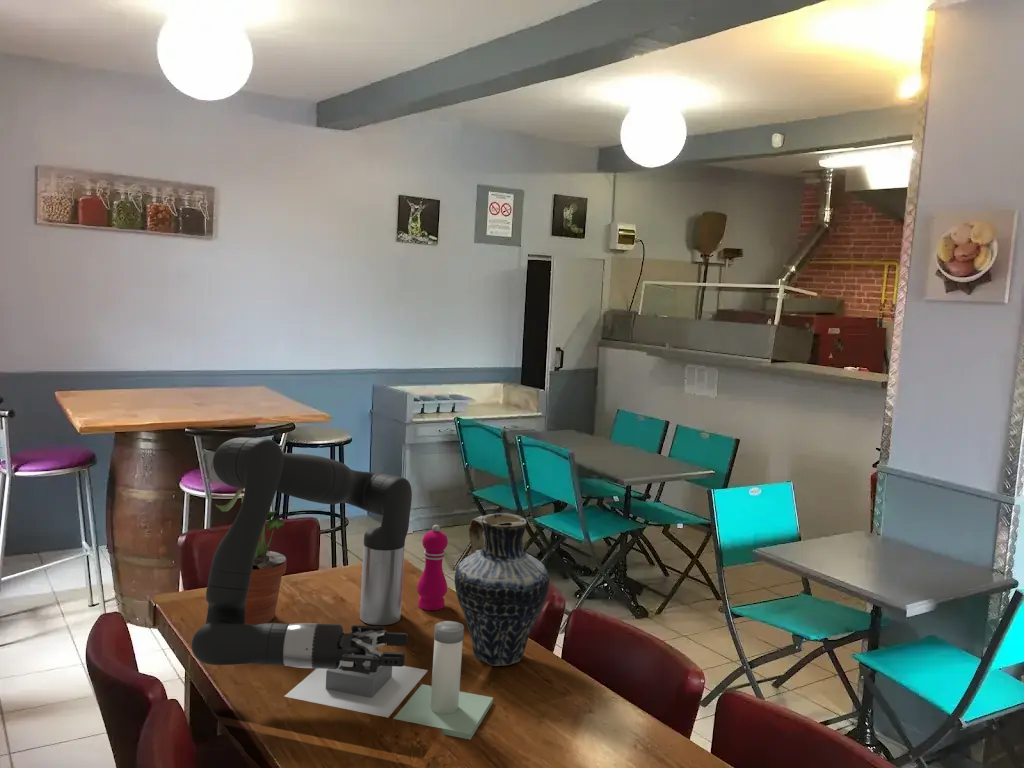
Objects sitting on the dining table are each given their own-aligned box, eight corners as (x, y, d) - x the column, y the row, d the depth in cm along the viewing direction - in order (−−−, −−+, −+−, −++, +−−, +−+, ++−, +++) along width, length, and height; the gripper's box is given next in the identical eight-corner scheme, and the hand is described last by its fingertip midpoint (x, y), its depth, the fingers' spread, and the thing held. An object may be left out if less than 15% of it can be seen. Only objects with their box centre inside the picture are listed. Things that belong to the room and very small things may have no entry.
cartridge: (435, 698, 153) (440, 619, 152) (462, 703, 152) (467, 623, 150) (425, 711, 148) (430, 629, 147) (453, 717, 147) (458, 634, 145)
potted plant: (273, 600, 198) (280, 454, 195) (292, 623, 185) (299, 467, 182) (204, 608, 190) (210, 456, 186) (219, 633, 177) (225, 471, 174)
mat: (421, 689, 159) (422, 684, 158) (492, 702, 155) (493, 697, 155) (393, 723, 145) (393, 718, 145) (470, 739, 142) (470, 734, 142)
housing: (334, 657, 169) (335, 636, 169) (427, 675, 165) (429, 653, 164) (283, 701, 150) (284, 677, 150) (387, 722, 145) (389, 698, 145)
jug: (562, 662, 175) (573, 521, 172) (497, 689, 161) (508, 536, 158) (491, 630, 189) (500, 500, 186) (426, 653, 175) (435, 512, 172)
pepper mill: (441, 613, 197) (446, 530, 195) (411, 609, 198) (416, 526, 196) (449, 603, 204) (454, 522, 202) (421, 599, 205) (426, 519, 204)
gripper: (307, 641, 140) (405, 645, 141) (320, 609, 154) (409, 613, 155) (305, 684, 141) (402, 688, 142) (318, 649, 155) (407, 652, 156)
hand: (406, 649), depth 148 cm, fingers open, 8 cm apart
